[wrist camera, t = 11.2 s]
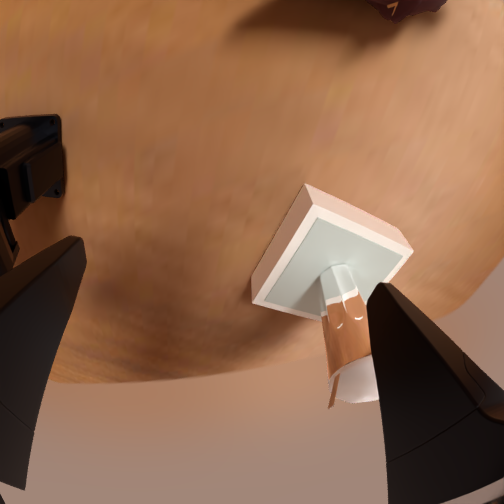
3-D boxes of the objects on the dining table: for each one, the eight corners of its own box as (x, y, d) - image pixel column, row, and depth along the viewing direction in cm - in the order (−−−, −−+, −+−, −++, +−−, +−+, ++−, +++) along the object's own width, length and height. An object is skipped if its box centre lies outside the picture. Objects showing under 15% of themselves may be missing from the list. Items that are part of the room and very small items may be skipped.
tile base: (251, 276, 24) (252, 304, 22) (304, 183, 19) (313, 204, 17) (339, 303, 27) (347, 329, 24) (398, 228, 22) (414, 252, 19)
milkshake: (319, 242, 18) (362, 385, 11) (379, 267, 20) (432, 388, 12) (286, 290, 21) (304, 424, 13) (344, 307, 22) (376, 424, 14)
